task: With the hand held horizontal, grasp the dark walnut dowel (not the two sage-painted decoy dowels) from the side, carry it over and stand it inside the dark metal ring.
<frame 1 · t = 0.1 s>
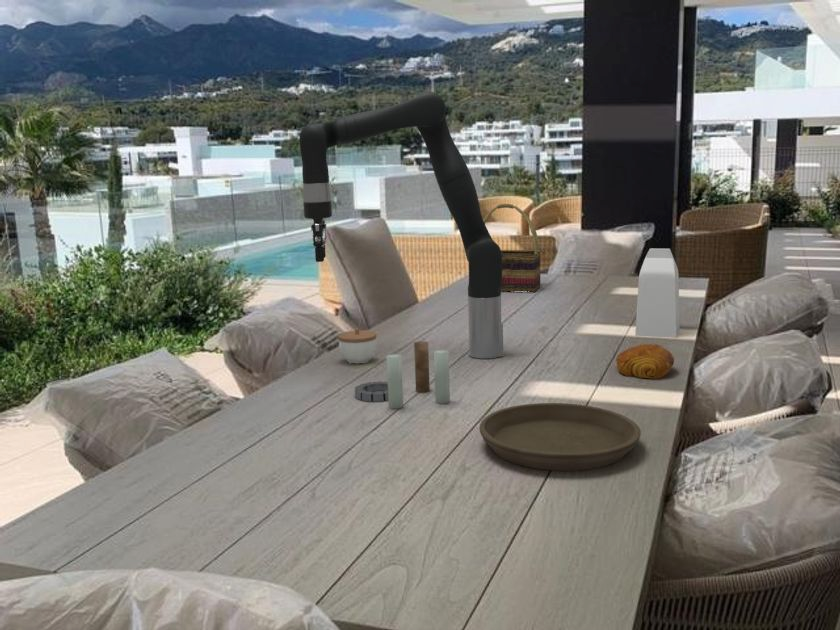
hand: (320, 259, 230), 29 cm above the table, fingers open, 8 cm apart
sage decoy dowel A: (442, 401, 197), on the table
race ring: (378, 394, 204), on the table
croissant: (644, 372, 217), on the table
milk: (657, 333, 259), on the table
walnut dowel: (422, 390, 206), on the table
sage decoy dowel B: (395, 406, 194), on the table
plant saucer: (558, 448, 166), on the table
lidded jar: (358, 362, 237), on the table
basket: (507, 289, 346), on the table
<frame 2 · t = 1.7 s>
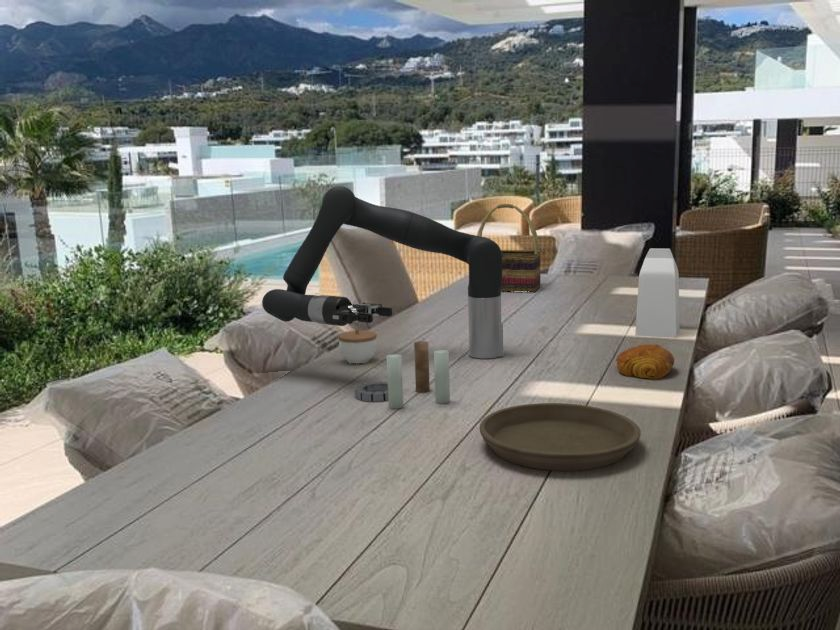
hand: (382, 315, 209), 18 cm above the table, fingers open, 8 cm apart
nothing on the table moved.
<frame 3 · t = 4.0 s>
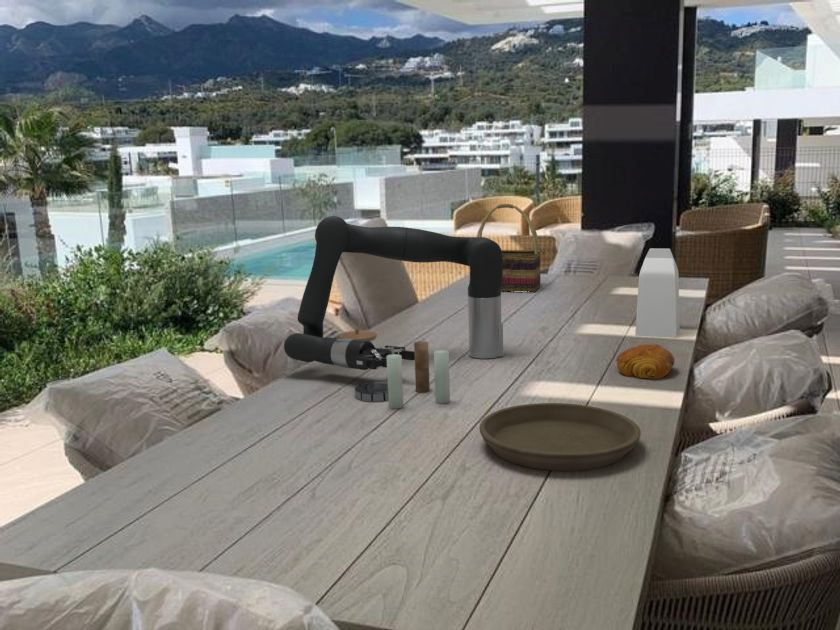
hand: (406, 360, 207), 7 cm above the table, fingers open, 8 cm apart
nothing on the table moved.
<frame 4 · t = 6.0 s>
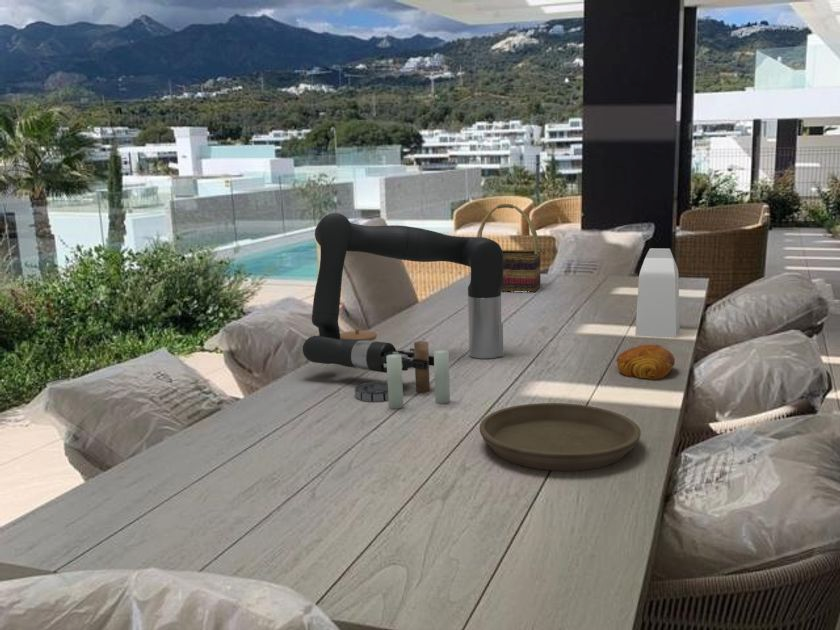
hand: (431, 363, 203), 7 cm above the table, fingers closed on walnut dowel, 3 cm apart
walnut dowel: (422, 390, 206), on the table, touching gripper
everything else where it was.
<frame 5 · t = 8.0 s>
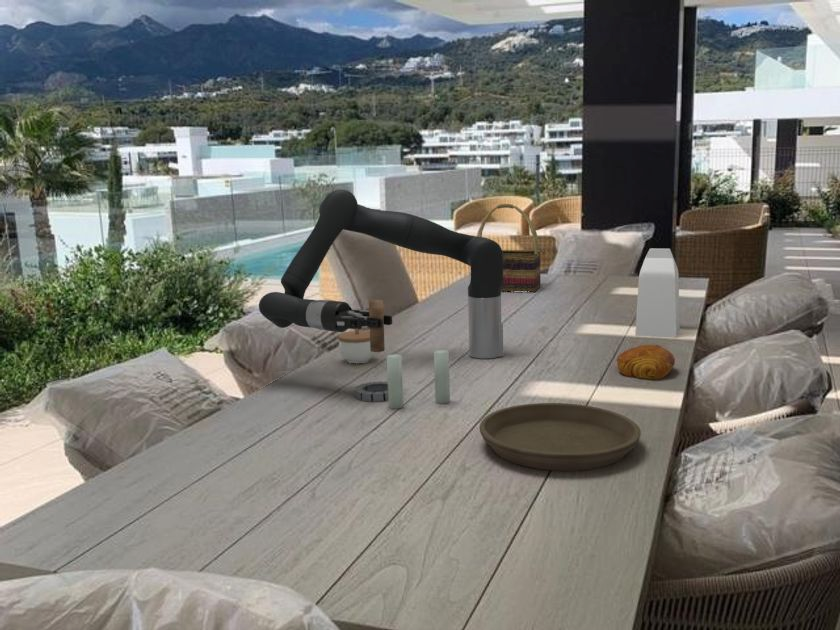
hand: (386, 322, 199), 18 cm above the table, fingers closed on walnut dowel, 3 cm apart
walnut dowel: (377, 350, 202), point 11 cm above the table, touching gripper
everything else where it was.
when the fingers open (8 cm above the table, at t = 10.3 s): walnut dowel stays where it is, resting in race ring.
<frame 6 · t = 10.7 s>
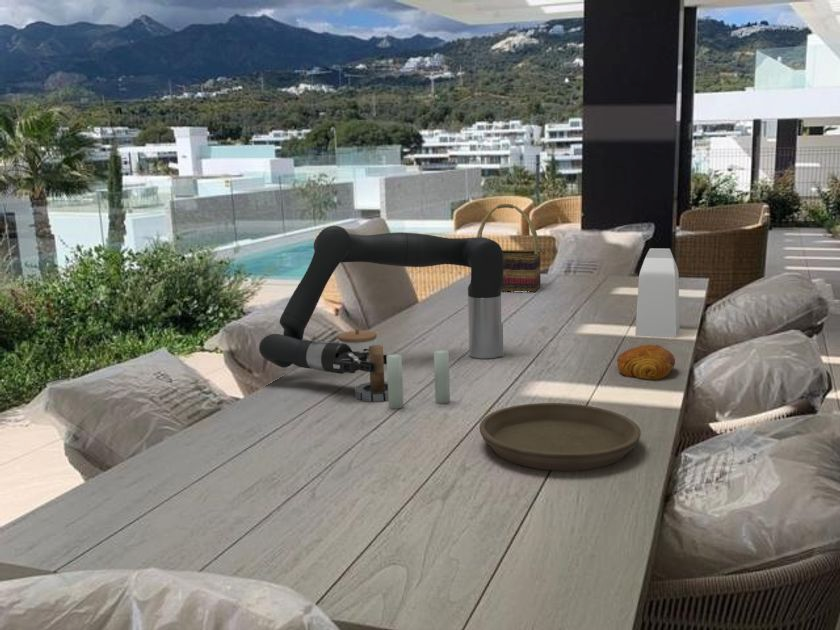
hand: (384, 363, 201), 8 cm above the table, fingers open, 7 cm apart
walnut dowel: (377, 394, 204), resting in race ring
everything else where it was.
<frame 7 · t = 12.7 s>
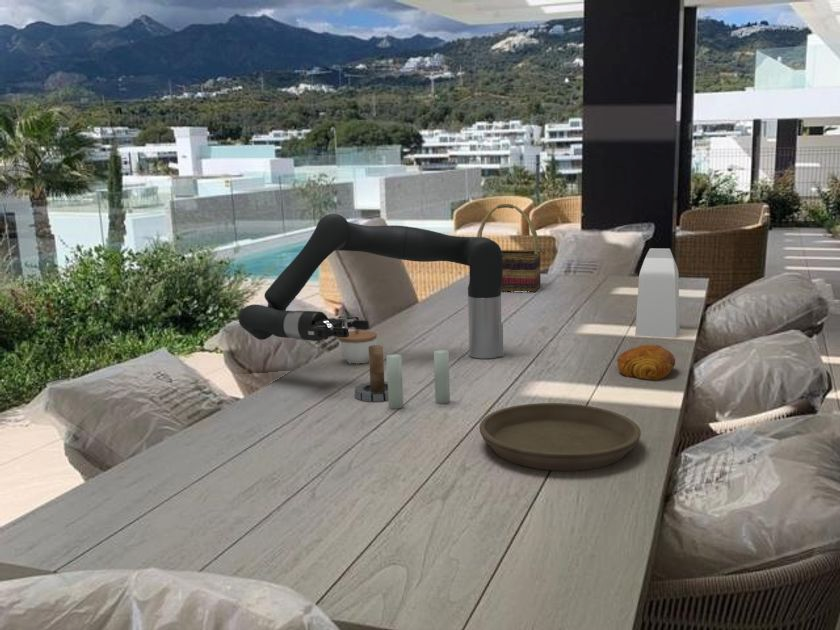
hand: (358, 328, 206), 15 cm above the table, fingers open, 8 cm apart
nothing on the table moved.
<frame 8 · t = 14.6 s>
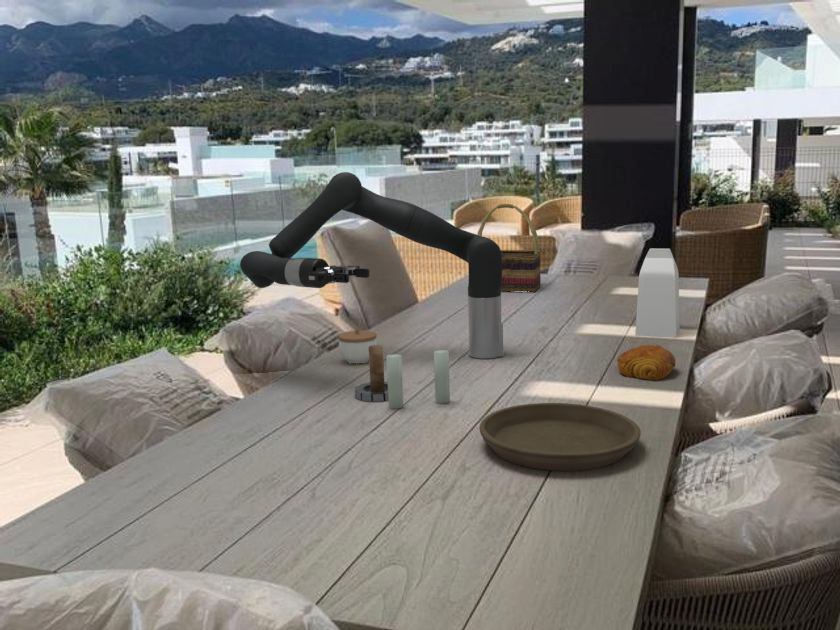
hand: (358, 275, 207), 28 cm above the table, fingers open, 8 cm apart
nothing on the table moved.
at the end: walnut dowel 0.1 cm from the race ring (horizontally); walnut dowel resting in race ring; walnut dowel tilted 0° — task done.
